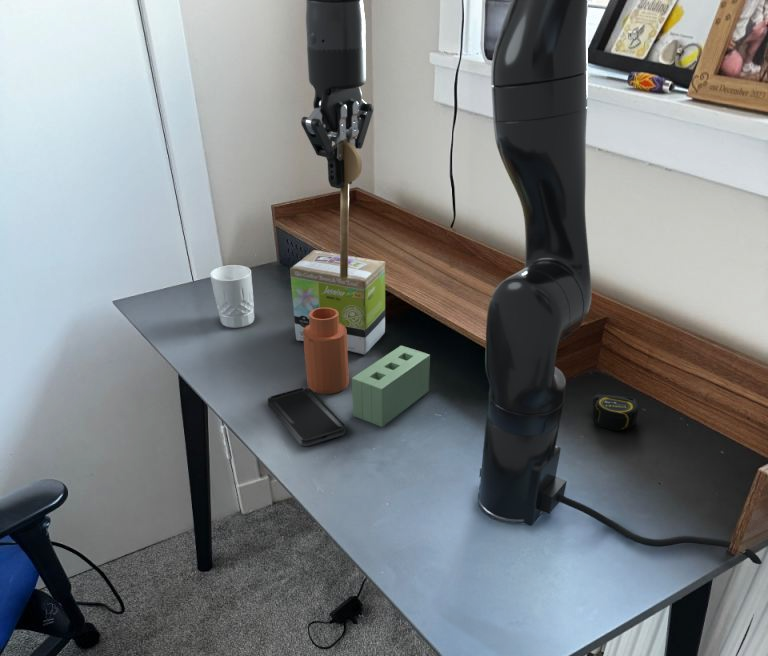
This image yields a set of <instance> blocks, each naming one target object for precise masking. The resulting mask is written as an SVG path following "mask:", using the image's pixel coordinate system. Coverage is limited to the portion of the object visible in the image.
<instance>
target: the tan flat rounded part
mask: <svg viewBox="0 0 768 656" xmlns="http://www.w3.org/2000/svg"><path fill="white" fill-rule="evenodd" d="M332 146H333V148H334V149H335V144H332ZM342 160H344V180H345V186H344V187H343V188H340V201H339V203H340V205H339V206H340V208H339V211H340V213H339V214H340V216H339V217H340V219H339V220H340V222H339V224H340V227H339V232H340V233H339V254H340V278H341V280H346V279H347V278H348V256H349V225H350V224H349V218H350V217H349V216H350V214H349V213H350V211H349V210H350V185H349V183H350V182H352V183H353V182H354V181H356V180H357V179H358V178H359V177H360V176H361V173H362V168H363V163H362V156H361V154H360V152H359V150H358V148H357V149H356V147H355V146H354V145H353V144H351V143H349V142H346V141H344V142H343V159H342Z"/></svg>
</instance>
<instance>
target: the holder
mask: <svg viewBox="0 0 768 656" xmlns="http://www.w3.org/2000/svg"><path fill="white" fill-rule="evenodd" d="M430 366H431V354H430V353H429V354H428V353H426V352H423V351H420V350H416V349H414V348H410V347H407V346H404V345H399V346H398V347H396V348H395V349H393V350H392V351H390V352H389V353H387V354H386V355H384V356H383V357H381V358H380V359H378V360H377V361H375V362H373V363H372V364H371V365H369V366H367V368H365V369H363V370H362V371H360V372H359V373H357V374H356V375H354V376H353V377H351V392H352V393H351V394H352V415H353V417H356V418H358V419H361V420H363V421H365V422H368V423H371V424H373V425H375V426H378V427H381V428H383V427H384V426H386V425H387V424H388V423H390V422H391V421H392V420H394V419H395V418H396V417H398V416H399V415H400V414H401V413H403V412H404V411H405V410H407V409H408V408H409V407H410V406H411V405H413V404H414V403H416V402H417V401H418V400H419V399H421V398H422V397H423V396H425V395H426V394H428V393H429V391H430V369H431V368H430Z"/></svg>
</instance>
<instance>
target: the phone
mask: <svg viewBox="0 0 768 656" xmlns="http://www.w3.org/2000/svg"><path fill="white" fill-rule="evenodd" d="M267 406H268V408H269V409H270V410H271V412H272V413H273V414H274V415H275V416H276V418H277V419H278V420H279V421H280V423H282V425H283V426H284V427H285V428H286V429H287V431H288V432H289V433H290V434H291V435H292V436H293V437H294V439H295V440H296V442H297V443H298V444H299V445H300V446H301V447H302V446H303V447H310V446H313V445H317V444H320V443H324V442H326V441H329V440H332V439H335V438H340V437H342V436H344V435H345V434H346V425H345V423H344V422H343V421H342V420H341V419H340V418H339V417H338V416H337V415H336V414H335V413H334V412H333V411H332V410H331V408H329V407H328V405H326V404H325V402H323V400H321V399H320V397H319V396H318V395H316V392H314V391H312V390H311V389H310V388H309V387H305V386H304V387H299V388H296V389H292V390H289V391H285V392H281V393H278V394H275V395H271V396H269V397H268V398H267Z"/></svg>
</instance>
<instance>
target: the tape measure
mask: <svg viewBox="0 0 768 656" xmlns="http://www.w3.org/2000/svg"><path fill="white" fill-rule="evenodd" d="M592 412H593V413H592V417H593V420H594V421H595V423H596V424H597V425H599V426H601V427H603V428H605V429H609V430H614V431H615V430H617V431H618V430H619V431H620V430H621V431H622V430H623V431H624V430H627V429H630V428H632V427H633V426H634V425H635V423H636V421H637V419H638V414H639V406H638V402H637V400H636V399H635V398H633V397H628V396H621V395H620V396H619V395H608V394H600V393H599V394H597V393H596V394H595V395H594V396H593V399H592Z"/></svg>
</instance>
